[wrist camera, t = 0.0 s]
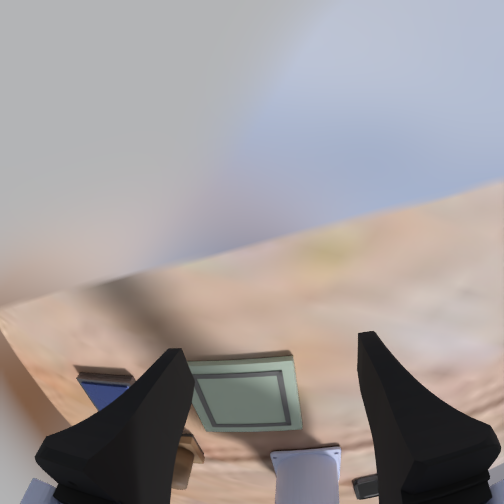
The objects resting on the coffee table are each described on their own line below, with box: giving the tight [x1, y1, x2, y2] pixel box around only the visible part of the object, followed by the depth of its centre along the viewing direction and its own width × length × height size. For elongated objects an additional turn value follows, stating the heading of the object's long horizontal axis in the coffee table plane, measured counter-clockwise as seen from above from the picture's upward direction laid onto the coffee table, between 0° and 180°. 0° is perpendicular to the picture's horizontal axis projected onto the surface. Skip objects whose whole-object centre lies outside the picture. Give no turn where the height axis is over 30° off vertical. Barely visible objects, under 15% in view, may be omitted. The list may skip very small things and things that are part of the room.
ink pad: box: [76, 372, 136, 411], centre depth 30 cm, size 8×7×1 cm
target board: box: [187, 356, 302, 432], centre depth 28 cm, size 10×10×1 cm
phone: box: [354, 475, 379, 500], centre depth 34 cm, size 8×1×15 cm
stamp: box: [171, 434, 205, 490], centre depth 30 cm, size 5×4×6 cm
